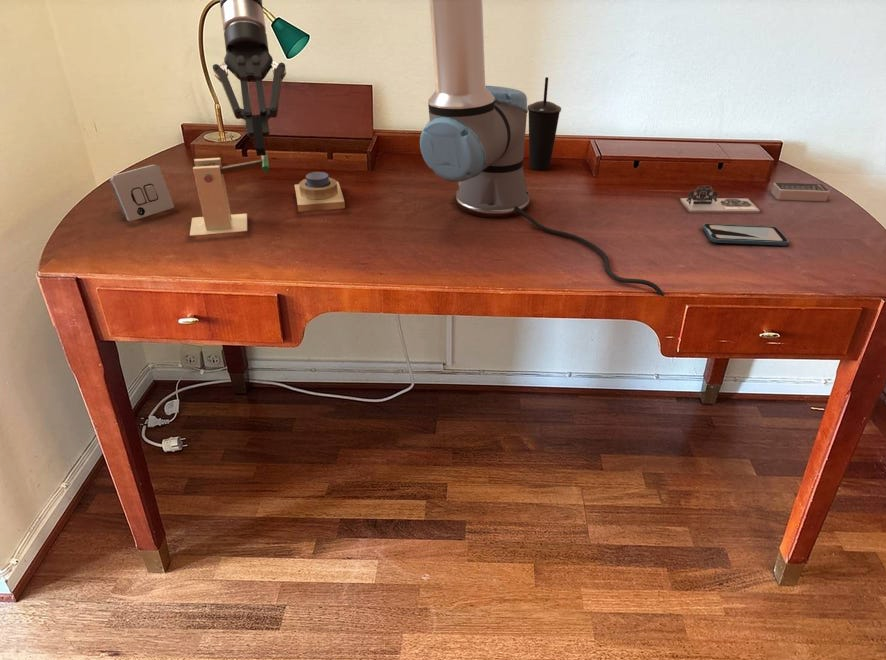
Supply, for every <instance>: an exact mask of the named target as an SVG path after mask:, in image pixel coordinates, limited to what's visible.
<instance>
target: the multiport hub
mask: <svg viewBox="0 0 886 660" xmlns="http://www.w3.org/2000/svg"><path fill="white" fill-rule="evenodd" d="M830 192H831V191H830V190H829V189H828V188H827V187H826V186H825V185H824V184H821V183H799V182H773V184H772V188H771V192H770V193H771V195H773V197H774V198H775V199H776V200H777V201H799V202H800V201H801V202H802V201H804V202H805V201H806V202H827V201H828V198H829V194H830Z"/></svg>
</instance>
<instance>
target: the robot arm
mask: <svg viewBox="0 0 886 660" xmlns="http://www.w3.org/2000/svg"><path fill="white" fill-rule="evenodd" d="M219 5H220V7H219V8H220V15H221V23H222V30H223V38H224V45H225V46H224V47H225V56H224V58H223V62H222V63H220V64H217V63H214V64H213V65H212V71H213V74H214V77H215V78H216V79H217V80H218V82H220V83H221V85H222V87H223V91H224V93H225V95H226V98H227V100H228V103H229V105H230V108H231V111H232V113H233V115H234V118H235V119H237V120H240V119H241V120H243V121H245V129H246V135H247V136H248V138H253V139H254V147H255V152H256V156H257V157H260V156H261V157H262V156H264V155H266V154H267V152H266V145H265V137H270V126H269V120H270V119H271V118H273V119H274V118H277V117H278V112H279V104H280V96H281V90H282V88H281V87H282V81H283V80H284V78H285V77H286V75H287V69H286V64H285V63H284V62H279V63H278V62H276V61H274V59H273V56H272V55H271V54H270V51H269V50H270V49H269V43H268V42H269V41H268V35H267V30H266V22H265V13H264V6H263V0H219ZM483 7H484V6H483V0H429V15H430V25H431V27H430V28H431V41H432V54H433V66H434V68H433V69H434V81H435V83H434V84H435V90H434V92H433V94H431V96H430V97H429V98H428V102H427V104H428V105H427V106H428V116H429V117H428V119H429V121H428V122H427V123H426V125H425V126H424V128H423V129H422V131H421V134H420V136H419V137H420V138H419V149H420V153H421V156H422V159H423V160H424V162H425V164H426V165H427V167H428V168H429V169H431V170H432V171H433V172H434V174H435V175H436V176H438V177H439V178H441V179H443V180H445V181H448V182H453V183H458V187H457V190H456V192H455V204H456V206H457V207H458V208H459V209H460V210H461V211H463V212H464V213H466V214H469V215H472V216H477V217H481V218H482V217H483V218H490V219H491V218H494V219H497V218H501V219H502V218H509V217H514V216H517V215H521V216H522V217H524V218H525V219H527V221H529V222H530V223H531V224H533V226H535V227H536V228H538V229H540V230H541V231H544V232H546V233H549V234H553V235H557V236H560V237H561V236H562V237H565V238H570V239H572V240H576V241H577V242H580V243H582V244H585V245H586V246H588V247H589V248H591V249H593V250H594V251H595V252H596V253H598V254H599V255H600V256H601V257H602V258H603V262H604V268H605V272H606V274H607V275H608V276H609V277H610V278H612V279H613V280H615V281H617V282H620V283H624V284H635V285H645V286H647V287H649V288H652V289H653V290H654V291H655V292H656V293H657V295H658V296H660V297H664V296H665V294H664V292H663V290H662V289H661V287H659V285H657V284H656V283H654V282H653V281H649V280H647V279H641V278H628V277H621V276H618V275H616V274H615V273H614V272H613V271H612V270H611V265H610V260H609V257H608V255H607V254H606V253H605V252H604V251H603V250H602V249H601V248H600V247H599V246H597V245H595V244H594V243H592V242H591V241H589V240H587V239H585V238H583V237H580V236H578V235H576V234H573V233H570V232H565V231H562V230H556V229H552V228H550V227H546V226H545V225H542V224H540V223H539V222H538V221H536V219H534V217H532V216H530V215H529V214H528V213H527V212H526V211H527V210H528V209H529V207H530V199H531V197H530V191H529V190H528V186H527V180H526V176H525V172H524V156H525V146H526V145H525V143H526V132H527V131H526V129H527V118H528V113H529V111H528V109H527V107H528V97H527V95H526V93H525V92H523V91H522V90H519V89H516V88H513V87H507V86H499V85H498V86H497V85H486V68H485V67H486V66H485V63H486V61H485V40H484V39H485V37H484V36H485V35H484V8H483ZM228 70H229V71H228ZM270 71H271V72H272V75H273V76H272V84H271V92H270V99H269V107H267V105H266V97H265V90H264V83H263V80H264V79H265V78H266V77H267V76H268V74H269V73H270ZM229 72H230V73H232V74H233V75H234V77H235V78H236V79H238V81H239V83H240V90H241V97H242V98H241V99H242V106H243V107H242V108H241V107H240V104H239V102H238V99H237V97H236V95H235V92H234V90H233V87H232V84H231V82H230V79H229V77H228V76H229ZM249 82H254V83H255V89H256V96H257V102H258V103H257V104H258V111H259V114H253V111H252V104H251V95H250V88H249Z"/></svg>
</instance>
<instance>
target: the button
mask: <svg viewBox="0 0 886 660" xmlns="http://www.w3.org/2000/svg"><path fill="white" fill-rule="evenodd" d="M329 178H330V177H329V173H327V172H324V171H313V172H308V173H307V174H306V175H305V179H306V182H307V186H308V187H312V188H322V187H326V186H328V185H329Z"/></svg>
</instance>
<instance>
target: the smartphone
mask: <svg viewBox="0 0 886 660" xmlns="http://www.w3.org/2000/svg"><path fill="white" fill-rule="evenodd" d="M702 230H703V231H704V233H705V234H706V236H707V237H708V239H709V240H710V241H711V242H712V243H720V244H739V245H740V244H742V245H761V246H763V245H765V246H766V245H767V246H783V247H784V246H788V245H789V242H790V241H789V238H787V237H786V236H785V235H784V233H783V232H782V231H781V230H780V229H779V227H776V226H774V225H773V226H771V225H752V224H751V225H750V224H749V225H748V224H728V223H727V224H725V223H703V224H702Z"/></svg>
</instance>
